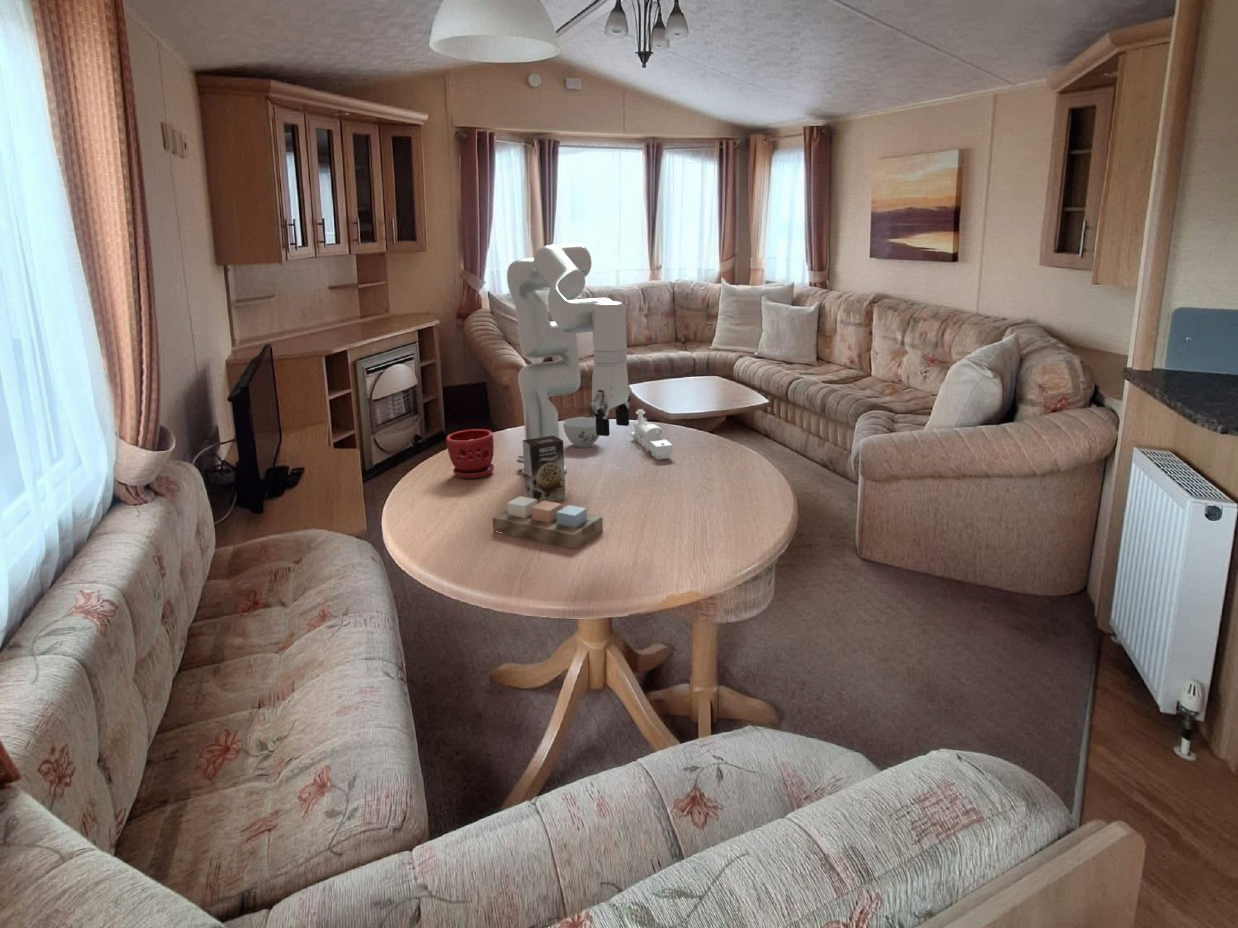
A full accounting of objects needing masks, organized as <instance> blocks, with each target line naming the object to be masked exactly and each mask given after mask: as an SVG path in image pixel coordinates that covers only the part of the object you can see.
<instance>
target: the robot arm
mask: <svg viewBox="0 0 1238 928" xmlns="http://www.w3.org/2000/svg"><path fill="white" fill-rule="evenodd" d="M591 269H592V256H591V253H590V252H589V250H588V249H587V247H586V246H584V245H582V244H581V243H562V244H561V243H558V244H549V245H548V244H547V245H544V246H541V247H540V248H538V250H536V251H535V253H534V255H533V257H527V258H520V259H517V260H515V261H512V262H511V263H510V264H509V266H508V267H507V272H506V281H507V287H508V290H509V293H510V296H511V298H512V301H513V303H514V307H515V312H516V321H517V323H516V324H517V330H518V339H519V347H520V350H521V354H522V356H524V357H525V358H527V359H542V358H551V357H558V360H553V361H544V362H535V363H531V364H528V365H524V366H523V367H522V368H521V369H520V370H519V371H518V374H517V383H518V387H519V392H520V396H521V400H522V408H523V409H522V410H523V419H524V420H523V421H524V436H525V439H524V440H528V439H535V438H541V437H548V436H555V437H557V438H559V439H560V432H559V431H560V430H559V414H558V409H557V408H556V406H555V405H554V404H553V403H552V401H550V399H549V398H550V397H555V396H562V395H569V394H573V393H575V392H577V391H578V389H580V386H581V367H580V366H581V365H580V355H579V344H578V336H577V334H581V333H591V332H592V343H593V344H592V346H593V347H592V348H593V369H592V376H591V377H592V379H591V403H590V406H591V409H592V413H593V418H595V419H596V434H597V435H599V437H600V436H603V437H609V436H610V435H611V434H610V433H611V431H610V419H609V418H608V416H609V413H610V410H612V409H615V421H616V422H615V423H616V424H615V425H617V426H621V427H622V426H623V427H624V426H625V427H628V426H629V425H630V410H629V409H630V401H631V391H632V388H631V387H630V386H629V375H628V367H627V364H628V352H627V351H628V350H627V348H628V347H627V320H626V318H627V317H626V315H627V314H626V307H625V305H624V303H623V302H621V301H614V299H613V300H612V299H611V298H608V297H594V298H591V297H590V298H579V299H576V298H577V297H579V296H580V295H581V294H582V292H583V291H584V289H585V285H586V277H587V276H588V275H589V274H590V271H591ZM538 291H548V295H547V303H546V301H545V300H544V298H543V297H542V296H541V294H540V293H539V292H538ZM549 314H550V317H551V319H552V320H553V321H550V320H549ZM603 410H604V411H603ZM516 462H517V464H524V455H523V453H522V454H519V455H518V458H517V459H516ZM564 472H565V473H566V472H567V466H566V465H565V464H564ZM521 473H522V475H523V476H524V477H525V474H524V467H523V468H522V469H521Z"/></svg>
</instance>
